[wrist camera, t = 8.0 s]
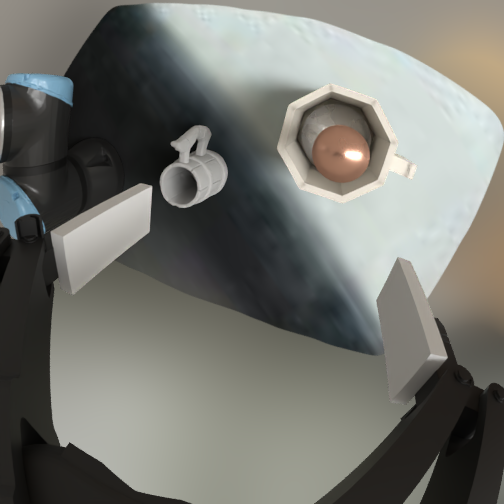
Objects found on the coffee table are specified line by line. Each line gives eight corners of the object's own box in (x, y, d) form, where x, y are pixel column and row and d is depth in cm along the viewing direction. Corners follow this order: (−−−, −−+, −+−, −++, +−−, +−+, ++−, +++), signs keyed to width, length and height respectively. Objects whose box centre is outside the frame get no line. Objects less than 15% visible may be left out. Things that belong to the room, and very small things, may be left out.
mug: (185, 189, 49) (146, 212, 38) (190, 121, 43) (149, 126, 33) (227, 197, 48) (196, 223, 37) (235, 126, 42) (204, 131, 32)
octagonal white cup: (284, 162, 43) (266, 180, 32) (305, 84, 36) (295, 71, 25) (382, 196, 41) (399, 227, 30) (408, 121, 35) (437, 124, 24)
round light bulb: (294, 158, 39) (267, 190, 23) (312, 95, 34) (297, 79, 19) (358, 180, 37) (375, 228, 22) (378, 118, 33) (415, 121, 18)
